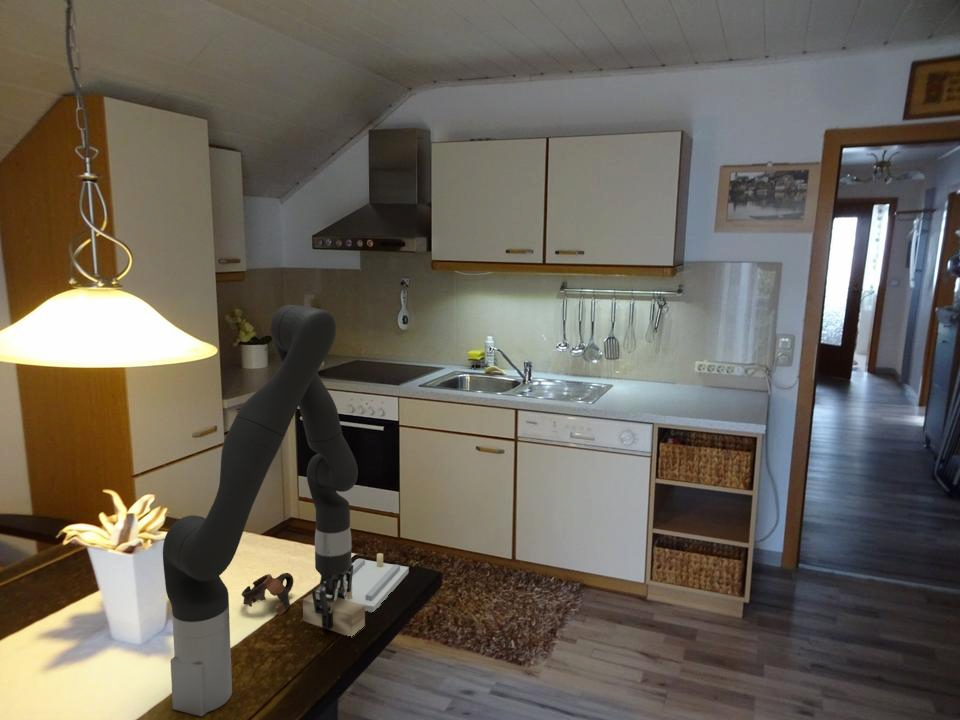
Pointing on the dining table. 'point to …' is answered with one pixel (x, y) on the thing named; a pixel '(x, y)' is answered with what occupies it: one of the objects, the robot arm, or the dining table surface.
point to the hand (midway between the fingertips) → (334, 620)
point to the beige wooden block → (337, 615)
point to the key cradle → (374, 581)
